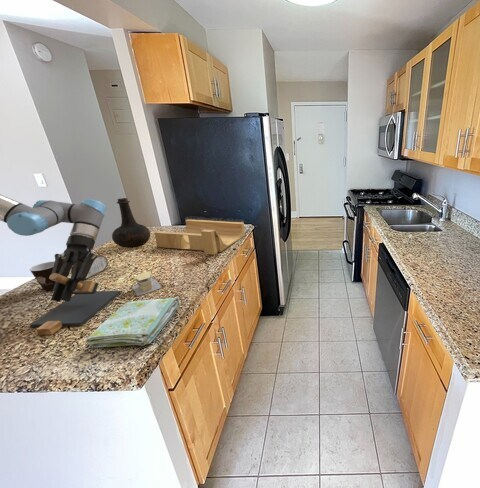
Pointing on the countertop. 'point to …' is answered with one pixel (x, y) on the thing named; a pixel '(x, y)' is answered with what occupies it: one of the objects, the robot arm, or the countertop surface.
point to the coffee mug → (44, 275)
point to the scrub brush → (82, 286)
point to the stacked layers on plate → (145, 283)
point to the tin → (97, 266)
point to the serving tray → (77, 309)
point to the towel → (134, 323)
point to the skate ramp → (202, 236)
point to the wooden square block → (49, 327)
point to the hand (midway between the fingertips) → (60, 300)
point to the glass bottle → (129, 229)
